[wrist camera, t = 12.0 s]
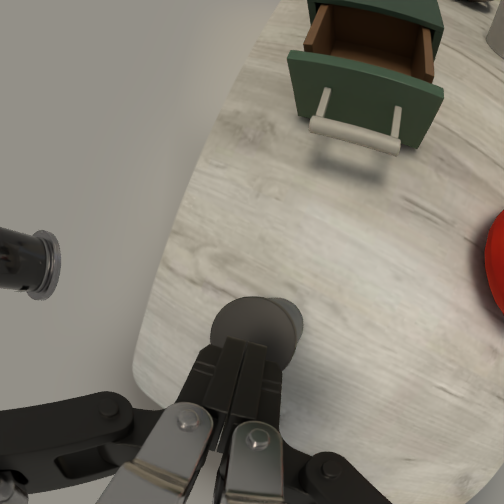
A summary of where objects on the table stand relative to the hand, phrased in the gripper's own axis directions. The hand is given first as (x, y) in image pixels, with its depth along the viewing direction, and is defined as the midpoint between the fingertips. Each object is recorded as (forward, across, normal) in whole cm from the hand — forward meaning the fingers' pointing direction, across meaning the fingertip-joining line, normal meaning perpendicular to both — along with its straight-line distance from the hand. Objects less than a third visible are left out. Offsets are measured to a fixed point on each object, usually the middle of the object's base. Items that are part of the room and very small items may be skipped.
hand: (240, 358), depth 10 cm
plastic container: (+13, -2, +6) cm, 14 cm away
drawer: (+21, -6, -17) cm, 27 cm away
